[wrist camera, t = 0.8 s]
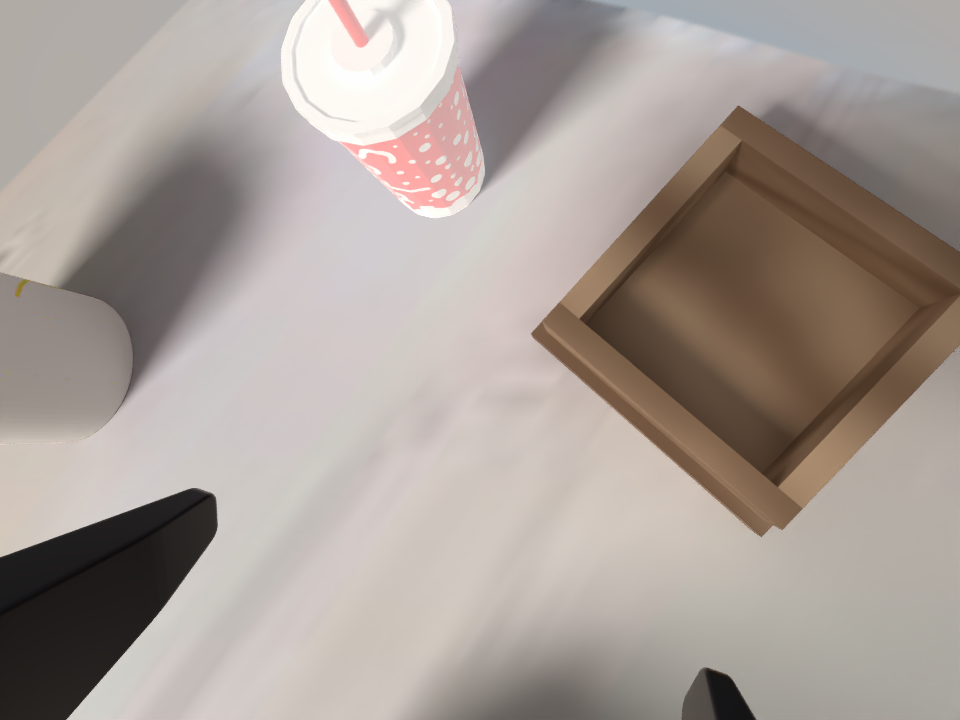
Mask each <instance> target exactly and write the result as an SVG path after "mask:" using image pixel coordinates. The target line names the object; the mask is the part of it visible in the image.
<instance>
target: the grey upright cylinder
mask: <svg viewBox="0 0 960 720" xmlns="http://www.w3.org/2000/svg"><path fill="white" fill-rule="evenodd" d="M132 369H133V348H132V342H131V338H130V335H129V332H128V329H127V327H126V325H125V323H124V321H123V320H122V318H121V317H120V315H119V314H118V313H117V312H116V311H115V310H114V309H113V308H112V307H111V306H110V305H108V304H107V303H105V302H104V301H102V300H100V299H97V298H94V297H90V296H87V295H83V294H79V293H75V292H71V291H68V290H64V289H60V288H56V287H53V286H49V285H45V284H41V283H38V282H34V281H30V280H26V279H23V278H19V277H15V276H11V275H8V274H4V273H0V445H2V444H41V443H69V442H75V441H78V440H81V439H84V438H86V437H88V436H90V435H92V434H94V433H95V432H97V431H98V430H99V429H101V428H102V427H103V426H104V425H105V424H106V423H107V422H108V421H109V420H110V419H111V418H112V417H113V415H114V414H115V413H116V411H117V410H118V408H119V407H120V405H121V403H122V402H123V400H124V397H125V395H126V393H127V390H128V387H129V384H130V380H131V376H132Z"/></svg>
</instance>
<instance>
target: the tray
mask: <svg viewBox="0 0 960 720" xmlns="http://www.w3.org/2000/svg"><path fill="white" fill-rule="evenodd" d="M531 335H532V336H533V338H534V339H535V340H537V341H538V342H539V343H540V344H541V345H542V346H543V347H544V348H546V349H547V350H548V351H549V352H550V353H551V354H552V355H554V356H555V357H556V358H557V359H558V360H559V361H560V362H561V363H563V364H564V365H565V366H566V367H567V368H568V369H569V370H571V371H572V372H573V373H574V374H575V375H576V376H577V377H578V378H580V379H581V380H582V381H583V382H584V383H585V384H586V385H588V386H589V387H590V388H591V389H592V390H593V391H594V392H595V393H597V394H598V395H599V396H600V397H601V398H602V399H603V400H605V401H606V402H607V403H608V404H609V405H610V406H611V407H612V408H614V409H615V410H616V411H617V412H618V413H619V414H620V415H622V416H623V417H624V418H625V419H626V420H627V421H628V422H629V423H631V424H632V425H633V426H634V427H635V428H636V429H637V430H639V431H640V432H641V433H642V434H643V435H644V436H645V437H646V438H648V439H649V440H650V441H651V442H652V443H653V444H654V445H656V446H657V447H658V448H659V449H660V450H661V451H662V452H663V453H665V454H666V455H667V456H668V457H669V458H670V459H671V460H673V461H674V462H675V463H676V464H677V465H678V466H679V467H680V468H682V469H683V470H684V471H685V472H686V473H687V474H688V475H690V476H691V477H692V478H693V479H694V480H695V481H696V482H697V483H699V484H700V485H701V486H702V487H703V488H704V489H705V490H707V491H708V492H709V493H710V494H711V495H712V496H713V497H714V498H716V499H717V500H718V501H719V502H720V503H721V504H722V505H724V506H725V507H726V508H727V509H728V510H729V511H730V512H731V513H733V514H734V515H735V516H736V517H737V518H738V519H739V520H741V521H742V522H743V523H744V524H745V525H746V526H747V527H748V528H750V529H751V530H752V531H753V532H754V533H756V534H757V535H759V536H761V537H762V536H763V535H764V534H765V533H766V532H767V531H768V530H769V529H770V528H771V527H772V525H774V526H776V527H778V528H779V529H781V530H783V529H784V528H785V527H786V525H787V524H788V523H789V522H790V521H791V520H792V519H793V518H794V517H795V516H796V515H797V514H798V513H799V512H800V511H801V510H802V509H803V508H804V507H805V506H806V505H807V504H808V503H809V501H810V500H811V499H812V498H813V497H814V496H815V495H816V494H817V493H818V492H819V491H820V490H821V489H822V488H823V487H824V486H825V485H826V484H827V483H828V482H829V481H830V480H831V478H832V477H833V476H834V475H835V474H836V473H837V472H838V471H839V470H840V469H841V468H842V467H843V466H844V465H845V464H846V463H847V462H848V461H849V460H850V459H851V458H852V457H853V455H854V454H855V453H856V452H857V451H858V450H859V449H860V448H861V447H862V446H863V445H864V444H865V443H866V442H867V441H868V440H869V439H870V438H871V437H872V436H873V435H874V434H875V432H876V431H877V430H878V429H879V428H880V427H881V426H882V425H883V424H884V423H885V422H886V421H887V420H888V419H889V418H890V417H891V416H892V415H893V414H894V413H895V412H896V411H897V410H898V408H899V407H900V406H901V405H902V404H903V403H904V402H905V401H906V400H907V399H908V398H909V397H910V396H911V395H912V394H913V393H914V392H915V391H916V390H917V389H918V388H919V387H920V385H921V384H922V383H923V382H924V381H925V380H926V379H927V378H928V377H929V376H930V375H931V374H932V373H933V372H934V371H935V370H936V369H937V368H938V367H939V366H940V365H941V364H942V362H943V361H944V360H945V359H946V358H947V357H948V356H949V355H950V354H951V353H952V352H953V351H954V350H955V349H956V348H957V347H958V346H959V345H960V252H959V251H957V250H956V249H954V248H953V247H951V246H950V245H948V244H947V243H945V242H944V241H942V240H940V239H939V238H937V237H936V236H934V235H933V234H931V233H930V232H928V231H927V230H925V229H924V228H922V227H921V226H919V225H918V224H916V223H915V222H913V221H912V220H910V219H909V218H907V217H906V216H904V215H903V214H901V213H900V212H898V211H897V210H895V209H894V208H892V207H891V206H889V205H888V204H886V203H885V202H883V201H882V200H880V199H879V198H877V197H876V196H874V195H873V194H871V193H870V192H868V191H867V190H865V189H864V188H862V187H861V186H859V185H858V184H856V183H855V182H853V181H852V180H850V179H849V178H847V177H846V176H844V175H843V174H841V173H839V172H838V171H836V170H835V169H833V168H832V167H830V166H829V165H827V164H826V163H824V162H823V161H821V160H820V159H818V158H817V157H815V156H814V155H812V154H811V153H809V152H808V151H806V150H805V149H803V148H802V147H800V146H799V145H797V144H796V143H794V142H793V141H791V140H790V139H788V138H787V137H785V136H784V135H782V134H781V133H779V132H778V131H776V130H775V129H773V128H772V127H770V126H769V125H767V124H766V123H764V122H763V121H761V120H760V119H758V118H757V117H755V116H754V115H752V114H751V113H749V112H748V111H746V110H745V109H743V108H741V107H740V106H737V108H736V109H735V110H734V111H733V112H732V113H731V114H730V115H729V116H728V117H727V119H726V120H725V121H724V122H723V123H722V124H721V125H720V126H719V127H718V128H717V130H716V131H715V132H714V133H713V134H712V135H711V136H710V137H709V138H708V139H707V141H706V142H705V143H704V144H703V145H702V146H701V147H700V148H699V149H698V150H697V152H696V153H695V154H694V155H693V156H692V157H691V158H690V159H689V160H688V161H687V163H686V164H685V165H684V166H683V167H682V168H681V169H680V170H679V171H678V172H677V174H676V175H675V176H674V177H673V178H672V179H671V180H670V181H669V182H668V183H667V185H666V186H665V187H664V188H663V189H662V190H661V191H660V192H659V193H658V194H657V196H656V197H655V198H654V199H653V200H652V201H651V202H650V203H649V204H648V205H647V207H646V208H645V209H644V210H643V211H642V212H641V213H640V214H639V215H638V216H637V218H636V219H635V220H634V221H633V222H632V223H631V224H630V225H629V226H628V227H627V229H626V230H625V231H624V232H623V233H622V234H621V235H620V236H619V237H618V238H617V240H616V241H615V242H614V243H613V244H612V245H611V246H610V247H609V248H608V249H607V251H606V252H605V253H604V254H603V255H602V256H601V257H600V258H599V259H598V260H597V262H596V263H595V264H594V265H593V266H592V267H591V268H590V269H589V270H588V271H587V273H586V274H585V275H584V276H583V277H582V278H581V279H580V280H579V281H578V282H577V284H576V285H575V286H574V287H573V288H572V289H571V290H570V291H569V292H568V293H567V295H566V296H565V297H564V298H563V299H562V300H561V301H560V302H559V303H558V304H557V306H556V307H555V308H554V309H553V310H552V311H551V312H550V313H549V314H548V315H547V317H546V318H545V319H544V320H543V321H542V322H541V323H540V324H539V326H538V327H537V328H536V329H535V330H534V331H533V332H532V333H531Z"/></svg>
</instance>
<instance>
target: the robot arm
mask: <svg viewBox="0 0 960 720" xmlns="http://www.w3.org/2000/svg"><path fill="white" fill-rule="evenodd" d="M217 527H218V522H217V504H216V497H215V496H214V494H212V493H210V492H207V491H204V490H201V489H198V488H191V489H188V490H185V491H182V492H180V493H177V494H174V495H171V496H169V497H166V498H163V499H160V500H158V501H155V502H152V503H149V504H147V505H144V506H141V507H138V508H135V509H133V510H130V511H127V512H124V513H122V514H119V515H116V516H113V517H111V518H108V519H105V520H102V521H100V522H97V523H94V524H91V525H89V526H86V527H83V528H80V529H78V530H75V531H72V532H69V533H67V534H64V535H61V536H58V537H55V538H53V539H50V540H47V541H44V542H42V543H39V544H36V545H33V546H31V547H28V548H25V549H22V550H20V551H17V552H14V553H11V554H9V555H6V556H3V557H0V720H66V719H67V718H68V717H69V716H70V715H71V714H72V713H73V711H74V710H75V709H76V708H77V707H78V706H79V705H80V703H81V702H82V701H83V700H84V699H85V698H86V697H87V695H88V694H89V693H90V692H91V691H92V690H93V688H94V687H95V686H96V685H97V684H98V683H99V682H100V680H101V679H102V678H103V677H104V676H105V675H106V674H107V672H108V671H109V670H110V669H111V668H112V667H113V666H114V664H115V663H116V662H117V661H118V660H119V659H120V657H121V656H122V655H123V654H124V653H125V652H126V651H127V649H128V648H129V647H130V646H131V645H132V644H133V643H134V641H135V640H136V639H137V638H138V637H139V636H140V635H141V633H142V632H143V631H144V630H145V629H146V628H147V626H148V625H149V624H150V623H151V622H152V621H153V619H154V618H155V617H156V616H157V615H158V613H159V612H160V611H161V610H162V608H163V607H164V606H165V605H166V603H167V602H168V601H169V599H170V598H171V597H172V595H173V594H174V592H175V591H176V590H177V588H178V587H179V585H180V584H181V583H182V581H183V580H184V579H185V577H186V576H187V574H188V573H189V572H190V570H191V569H192V567H193V566H194V565H195V563H196V562H197V561H198V559H199V558H200V556H201V555H202V554H203V552H204V551H205V549H206V548H207V547H208V545H209V544H210V542H211V541H212V540H213V538H214V536H215V534H216V531H217ZM682 720H756V718H755V717H754V715H753V713H752V712H751V710H750V708H749V707H748V705H747V703H746V701H745V700H744V698H743V696H742V695H741V693H740V691H739V690H738V688H737V686H736V684H735V683H734V681H733V680H732V679H731V678H730V677H729V676H728V675H727V674H724V673H721V672H719V671H716V670H713V669H710V668H706V667H705V668H702V669H701V670H700V671H699V673H698V675H697V677H696V678H695V680H694V682H693V684H692V685H691V687H690V689H689V691H688V693H687V694H686V696H685V699H684V703H683V708H682Z"/></svg>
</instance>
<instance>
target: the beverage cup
mask: <svg viewBox="0 0 960 720" xmlns="http://www.w3.org/2000/svg"><path fill="white" fill-rule="evenodd" d="M459 58H460V57H459V47H458V37H457V27H456V24H455V23H454V15H453V11H452V8H451V6H450V5H449V3H448V1H447V0H305V2H304V3H303V4H302V6H301V7H300V8H299V10H298V11H297V12H296V14H295V15H294V16H293V17H292V19H291V22H290V25H289V28H288V31H287V34H286V37H285V40H284V43H283V46H282V49H281V65H282V83H283V85H284V87H285V89H286V91H287V93H288V95H289V97H290V99H291V101H292V103H293V105H294V106H295V108H296V110H297V111H298V112H299V113H300V114H301V115H302V116H303V117H305V118H306V119H307V120H308V121H309V123H310V124H312V125H313V126H315V127H316V128H317V129H319V130H320V131H321V132H323V133H324V134H325V135H327V136H328V137H329V138H331V139H332V140H336V141H339V142H340V143H341V144H342V145H343V146H344V147H345V148H346V149H347V150H348V151H349V152H350V153H351V154H352V155H354V156H355V157H356V158H357V159H358V160H359V161H360V162H361V163H362V164H363V165H364V166H365V167H366V168H367V169H368V170H369V171H370V172H371V173H372V174H373V175H374V176H375V177H376V178H377V179H378V180H380V181H381V182H382V183H383V184H384V185H385V186H386V187H387V188H388V189H389V190H390V191H391V192H392V193H393V194H394V195H395V196H396V197H397V198H398V199H399V200H400V201H401V202H402V203H403V204H404V205H406V206H407V207H408V208H410V209H411V210H412V211H414V212H415V213H416V214H418V215H422V216H427V217H431V218H439V217H444V216H450V215H453V214H455V213H457V212H458V211H460V210H462V209H463V208H465V207H467V206H468V205H469V204H470V203H471V201H472V200H473V199H474V198H475V196H476V195H477V194H478V193H479V191H480V189H481V186H482V182H483V179H484V176H485V166H484V156H483V152H482V148H481V145H480V141H479V137H478V133H477V130H476V126H475V122H474V118H473V115H472V111H471V107H470V103H469V100H468V96H467V92H466V88H465V85H464V81H463V77H462V73H461V70H460V66H459V62H458V61H459Z"/></svg>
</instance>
